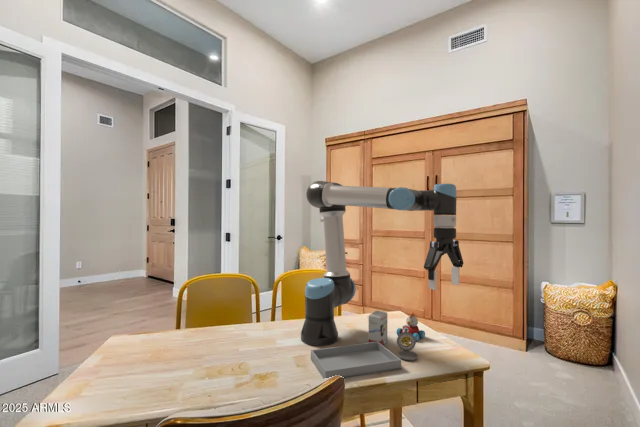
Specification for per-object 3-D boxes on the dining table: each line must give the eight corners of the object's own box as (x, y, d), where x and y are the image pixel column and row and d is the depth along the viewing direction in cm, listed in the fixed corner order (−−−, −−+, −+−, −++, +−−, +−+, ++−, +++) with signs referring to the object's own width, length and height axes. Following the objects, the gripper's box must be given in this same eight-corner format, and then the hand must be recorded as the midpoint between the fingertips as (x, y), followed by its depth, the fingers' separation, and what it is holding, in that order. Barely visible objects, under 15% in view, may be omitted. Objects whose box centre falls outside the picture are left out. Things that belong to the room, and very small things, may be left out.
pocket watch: (407, 363, 109) (407, 333, 109) (390, 353, 116) (391, 325, 116) (425, 358, 112) (425, 329, 113) (408, 349, 120) (408, 322, 120)
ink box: (379, 349, 120) (379, 317, 120) (367, 346, 122) (367, 315, 123) (387, 341, 127) (388, 311, 127) (376, 339, 130) (376, 309, 130)
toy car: (395, 336, 133) (395, 312, 133) (407, 331, 139) (407, 308, 139) (414, 342, 126) (414, 317, 127) (426, 337, 132) (426, 313, 132)
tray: (325, 381, 96) (325, 371, 97) (310, 358, 112) (310, 350, 112) (401, 369, 104) (401, 359, 104) (377, 349, 120) (377, 341, 120)
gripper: (432, 228, 104) (431, 293, 104) (473, 227, 119) (473, 284, 119) (413, 227, 111) (412, 289, 110) (455, 226, 125) (454, 281, 125)
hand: (444, 286), depth 115 cm, fingers open, 13 cm apart
